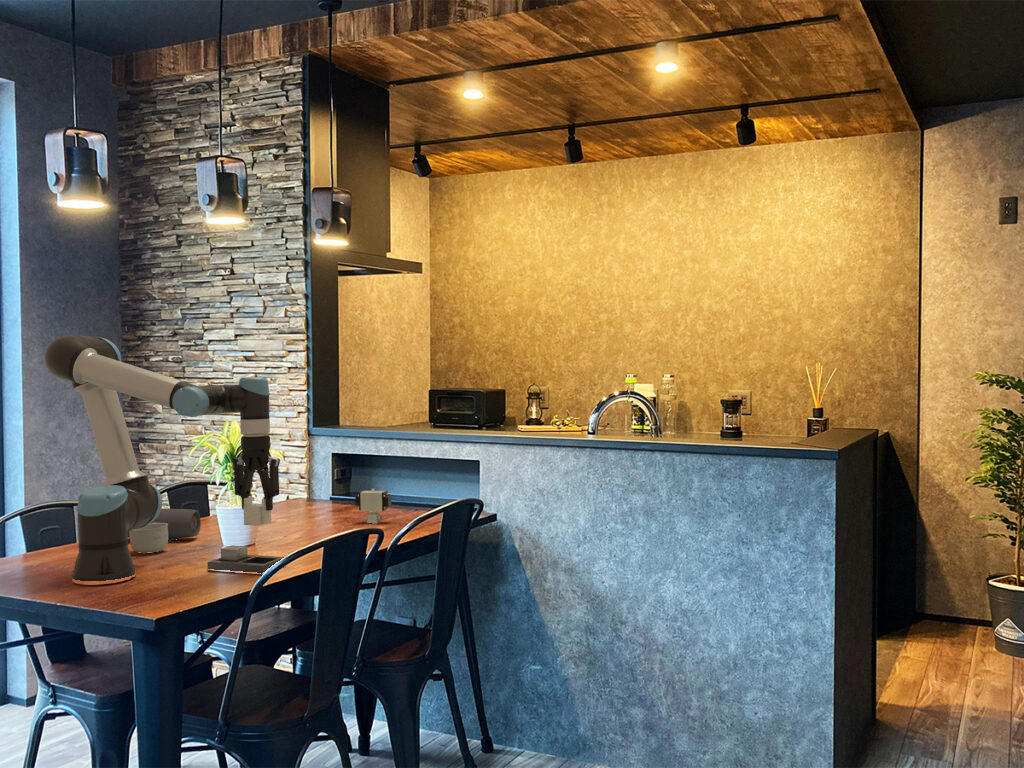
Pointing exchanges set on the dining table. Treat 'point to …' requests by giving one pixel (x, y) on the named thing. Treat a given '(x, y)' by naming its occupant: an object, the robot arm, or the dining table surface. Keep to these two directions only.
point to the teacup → (149, 538)
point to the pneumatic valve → (373, 504)
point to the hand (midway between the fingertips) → (257, 522)
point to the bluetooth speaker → (180, 522)
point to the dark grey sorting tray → (242, 560)
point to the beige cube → (253, 515)
